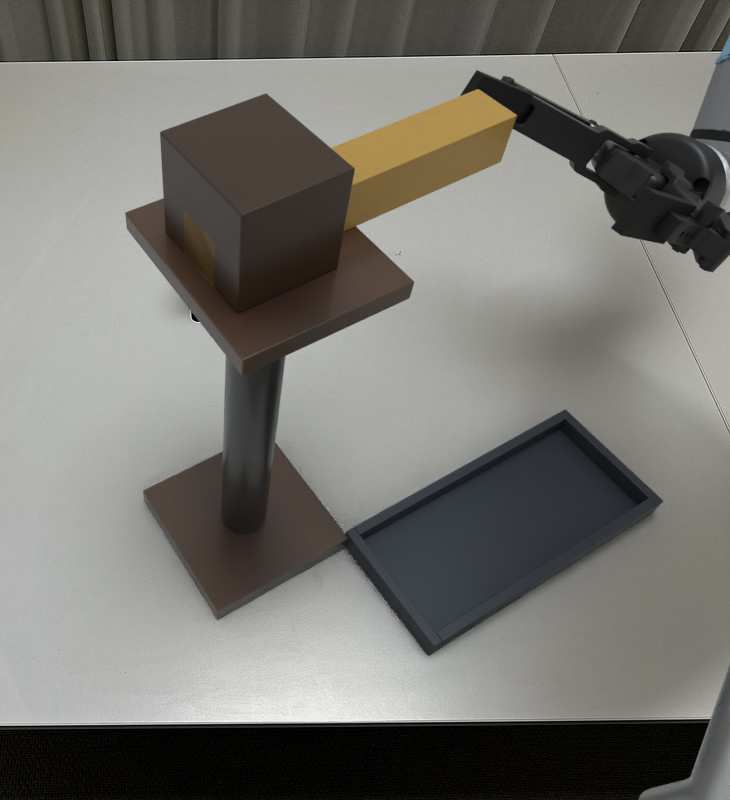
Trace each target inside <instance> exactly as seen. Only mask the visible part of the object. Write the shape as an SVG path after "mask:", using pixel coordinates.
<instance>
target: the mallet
mask: <svg viewBox="0 0 730 800" xmlns="http://www.w3.org/2000/svg"><path fill="white" fill-rule="evenodd" d="M516 117H517V115H516V114H515V113H513V112H512V111H510V110H509V109H507V108H506V107H504V106H503V105H501V104H500V103H498V102H497V101H495V100H494V99H492V98H491V97H489V96H488V95H486V94H485V93H484V92H482V91H481V90H479V89H477V90H474V91H472V92H469V93H467V94H464V95H462V96H460V95H459V96H456V97H454V98H452V99H450V100H446V101H444V102H442V103H440V104H437V105H434V106H432V107H429V108H427V109H424V110H422V111H419V112H417V113H414V114H412V115H410V116H408V117H405V118H401V119H399V120H397V121H395V122H392V123H390V124H386V125H385V126H382V127H379V128H377V129H374V130H372V131H370V132H367V133H364V134H362V135H359V136H357V137H354V138H352V139H349V140H347V141H344V142H342V143H340V144H337V145H334V146H332V147H331V146H329V145H328V144H327V143H326V142H325V141H323V140H322V139H321V138H320V137H319V136H317V135H316V133H314V132H313V131H312V130H311V129H309V128H308V127H307V126H306V125H304V124H303V123H302V122H301V121H300V120H299V119H298V118H296V116H294V115H292V113H291V112H289V110H287V109H286V108H285V107H284V106H282V105H281V104H280V103H279V102H277V101H276V100H275V99H274V98H273V97H271V95H269V94H268V93H263V94H260V95H257V96H254V97H252V98H249V99H246V100H243V101H241V102H238V103H235V104H232V105H229V106H227V107H224V108H221V109H219V110H216V111H213V112H210V113H208V114H205V115H202V116H199V117H197V118H194V119H191V120H187V121H186V122H183V123H180V124H177V125H175V126H172V127H169V128H166V129H163V130H161V131H160V132H159V137H160V138H159V141H160V157H161V158H160V159H161V175H162V176H161V177H162V178H161V179H162V194H163V195H162V196H163V197H162V198H164V215H165V231H166V232H167V233H168V234H169V236H170V237H171V238H172V239H173V240H174V241H175V242H176V244H177V245H178V246H179V247H180V248H181V249H182V250H183V252H184V253H185V254H186V255H187V257H188V258H189V259H190V260H191V261H192V262H193V263H194V265H195V266H196V267H197V268H198V269H199V270H200V271H201V273H202V274H203V275H204V276H205V277H206V278H207V280H208V281H209V282H210V283H211V284H212V285H213V286H214V288H216V289H217V291H218V292H219V293H220V294H221V295H222V296H223V297H224V299H225V300H226V301H227V302H228V303H229V304H230V305H231V307H232V308H233V309H234V310H235V311H236V312H237V313H240V312H242V311H244V310H246V309H249V308H251V307H253V306H255V305H257V304H259V303H262V302H264V301H266V300H268V299H270V298H273V297H275V296H277V295H279V294H281V293H283V292H286V291H288V290H290V289H292V288H294V287H296V286H299V285H301V284H303V283H305V282H307V281H310V280H312V279H314V278H316V277H318V276H320V275H323V274H325V273H327V272H329V271H331V270H334V269H336V268H337V267H338V261H339V256H340V250H341V244H342V239H343V233H344V231H346V230H348V229H351V228H353V227H355V226H356V227H358V226H359V225H362V224H364V223H367V222H368V221H372V220H374V219H375V218H378V217H380V216H382V215H385V214H387V213H389V212H392V211H394V210H396V209H398V208H400V207H403V206H405V205H408V204H409V203H411V202H414V201H416V200H419V199H421V198H423V197H425V196H428V195H430V194H432V193H435V192H436V191H439V190H441V189H443V188H445V187H448V186H450V185H452V184H454V183H456V182H460V181H461V180H463V179H466V178H468V177H470V176H472V175H475V174H477V173H479V172H482V171H484V170H487V169H488V168H490V167H493V166H495V165H497V164H500V163H501V162H502V160H503V156H504V154H505V151H506V148H507V146H508V143H509V140H510V137H511V134H512V131H513V130H514V129H513V126H514V123H515V120H516Z"/></svg>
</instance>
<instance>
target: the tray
mask: <svg viewBox="0 0 730 800" xmlns="http://www.w3.org/2000/svg"><path fill="white" fill-rule="evenodd" d="M663 503H664V500H663V499H662V498H661V497H660V496H659V495H658V494H657V493H656V492H655V491H653V489H652V488H650V487H649V486H648V485H647V484H646V483H645V482H644V481H643V480H642V479H641V478H639V476H638V475H637V474H636V473H634V472H633V470H631V468H629V467H628V466H627V465H626V464H625V463H624V462H623V461H622V460H621V459H619V458H618V457H617V455H616V454H614V453H613V452H612V450H610V449H609V448H608V447H606V445H604V443H602V442H601V441H600V440H599V439H598V438H597V437H596V436H595V435H594V434H593V433H592V432H591V431H589V430H588V428H586V426H584V425H583V424H582V423H581V422H580V421H579V420H578V419H577V418H576V417H575V416H573V415H572V414H571V413H570V412H569V411H568V410H567V409H563V410H561V411H560V412H558V413H555V414H554V415H552V416H550V417H549V418H546V419H545V420H543V421H542V422H539V423H537V424H536V425H534V426H532V427H530V428H529V429H527V430H525V431H523V432H522V433H520V434H518V435H516V436H514V437H513V438H511V439H509V440H507V441H506V442H503V443H502V444H500V445H499V446H496V447H495V448H493V449H491V450H489V451H488V452H485V453H484V454H482V455H480V456H478V457H476V458H474V459H473V460H471V461H470V462H468V463H466V464H464V465H463V466H461V467H459V468H457V469H455V470H453V471H451V472H450V473H448V474H446V475H444V476H442V477H440V478H439V479H437V480H436V481H435V480H434V481H433V482H431V483H430V484H428V485H426V486H425V487H423V488H421V489H419V490H417V491H416V492H414V493H412V494H410V495H408V496H407V497H404V498H403V499H401V500H399V501H398V502H396V503H394V504H392V505H390V506H389V507H387V508H385V509H384V510H382V511H379V512H377V513H376V514H374V515H372V516H371V517H369V518H367V519H365V520H364V521H362V522H360V523H358V524H356V525H355V526H353V527H351V528H349V529H348V530H346V531H345V532H344V533H345V535H346V536H347V537H348V542H347V545H346V548H345V549H346V550H347V551H348V552H349V554H350V555H351V556H352V557H353V559H354V560H355V561H356V563H357V564H358V565H359V567H360V568H361V570H362V571H363V572H364V573H365V575H366V576H367V577H368V579H369V580H370V581H371V583H372V584H373V585H374V586H375V588H376V589H377V590H378V592H379V593H380V595H381V596H382V597H383V598H384V600H385V602H386V603H387V604H388V605H389V606H390V608H391V609H392V610H393V612H394V613H395V614H396V616H397V617H398V619H399V620H400V621H401V622H402V624H403V625H404V626H405V628H406V629H407V630H408V632H409V633H410V634H411V636H412V637H413V638H414V639H415V641H416V642H417V644H419V646H420V648H421V649H422V650H423V651H424V653H425V654H426V655H427V656H428V657H429V656H431V655H432V654H434V653H435V652H437V651H439V650H441V649H442V648H443V647H445V646H447V645H448V644H450V643H451V642H453V641H454V640H456V639H458V638H459V637H461V636H463V635H464V634H465V633H467V632H469V631H470V630H472V629H473V628H475V627H476V626H479V624H481V623H483V622H484V621H486V620H488V619H489V618H490V617H492V616H494V615H495V614H497V613H498V612H500V611H502V610H503V609H505V608H506V607H508V606H510V605H511V604H512V603H514V602H516V601H517V600H519V599H520V598H522V597H523V596H525V595H527V594H528V593H530V592H531V591H533V590H534V589H536V588H538V587H539V586H540V585H542V584H544V583H546V582H547V581H549V580H550V579H552V578H553V577H555V576H556V575H558V574H559V573H561V572H563V571H564V570H566V569H568V568H569V567H571V566H572V565H574V564H575V563H577V562H578V561H581V560H582V559H583V558H584V557H586V556H588V555H589V554H591V553H592V552H594V551H596V550H597V549H599V548H600V547H602V546H604V545H605V544H606V543H608V542H610V541H611V540H613V539H614V538H616V537H618V536H619V535H621V534H623V533H624V532H625V531H627V530H628V529H630V528H631V527H633V526H635V525H636V524H637V523H639V522H641V521H643V520H644V519H646V518H647V517H649V516H651V515H652V514H653V513H654V512H655V511H656V510H657V509H658V508H659V507H660V506H661V504H663Z"/></svg>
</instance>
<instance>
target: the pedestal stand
mask: <svg viewBox="0 0 730 800" xmlns="http://www.w3.org/2000/svg"><path fill="white" fill-rule="evenodd" d="M124 215H125V216H124V217H125V225H126V230H127V232H128V233H129V234H130V235H131V237H132V238H133V239H134V241H135V242H136V243H137V245H139V247H140V248H141V249H142V251H143V252H144V253H145V255H146V256H147V257H148V258H149V259H150V261H151V262H152V263H153V264H154V266H155V267H156V268H157V270H158V271H159V272H160V273H161V275H162V276H163V277H164V278H165V280H166V281H167V282H168V284H169V285H170V286H171V288H172V289H173V290H174V291H175V292H176V294H177V295H178V296H179V298H180V299H181V300H182V302H183V303H184V304H185V305H186V306H187V308H188V309H189V310H190V312H191V313H192V314H193V315H194V317H195V318H196V319H197V321H198V322H199V323H200V324H201V326H202V327H203V328H204V329H205V331H206V332H207V334H208V335H209V336H210V337H211V338H212V340H213V341H214V342H215V344H216V345H217V346H218V347H219V348H220V350H221V351H222V353H223V354H224V355H225V364H224V365H225V366H224V368H225V369H224V403H223V408H224V409H223V433H222V434H223V436H222V451H220V452H218V453H216V454H214V455H213V456H210V457H208V458H206V459H204V460H201V461H200V462H198V463H196V464H194V465H192V466H190V467H188V468H186V469H184V470H182V471H179V472H178V473H176V474H174V475H172V476H170V477H167V478H165V479H163V480H162V481H160V482H157V483H155V484H153V485H151V486H149V487H147V488H145V489H143V490H142V494H143V500H144V502H145V504H146V505H147V507H148V508H149V511H150V512H151V514H152V516H153V518H155V520H156V521H157V524H158V525H159V527H160V529H161V530H162V532H163V533H164V535H165V537H166V538H167V540H168V542H169V543H170V545H171V547H172V548H173V549H174V552H175V553H176V555H177V556H178V558H179V560H180V561H181V563H182V564H183V566H184V568H185V569H186V571H187V573H188V574H189V576H190V578H191V579H192V581H193V582H194V584H195V586H196V588H197V589H198V590H199V592H200V594H201V596H202V597H203V599H204V600H205V602H206V604H207V605H208V607H209V608H210V610H211V612H212V613H213V615H214V617H215V618H216V620H220V619H222V618H224V617H225V616H227V615H229V614H230V613H232V612H234V611H236V610H237V609H239V608H241V607H243V606H244V605H247V604H248V603H251V602H252V601H254V600H255V599H257V598H259V597H261V596H263V595H264V594H266V593H269V591H271V590H274V589H275V588H277V587H278V586H280V585H282V584H284V583H286V582H287V581H289V580H291V579H292V578H294V577H296V576H298V575H300V574H302V573H303V572H305V571H307V570H308V569H310V568H312V567H314V566H316V565H317V564H319V563H321V562H322V561H324V560H327V559H328V558H330V557H331V556H333V555H335V554H337V553H339V552H340V551H343V550H344V549H347V548H346V545H347V542H348V537H347V536H346V535H345V533H346V532H345V531H344V530H343V528H342V527H341V526H340V524H339V523H338V522H337V521H336V519H335V518H334V517H333V515H332V514H331V513H330V512H329V510H328V509H327V508H326V506H325V505H324V503H322V501H321V499H320V498H319V497H318V496H317V494H316V493H315V492H314V491H313V489H312V488H311V487H310V486H309V484H308V482H306V480H305V479H304V478H303V476H302V475H301V474H300V472H299V471H298V470H297V469H296V467H295V466H294V465H293V463H292V462H291V461H290V459H289V458H288V457H287V456H286V454H285V453H284V452H283V451H282V449H281V447H279V445H278V443H277V442H276V439H277V431H278V421H279V414H280V406H281V405H280V404H281V399H282V398H281V397H282V391H283V390H282V389H283V383H284V382H283V381H284V373H285V365H286V356H289V355H291V354H293V353H295V352H297V351H299V350H302V349H304V348H306V347H308V346H311V345H313V344H314V343H317V342H320V341H321V340H323V339H325V338H327V337H329V336H332V335H334V334H336V333H338V332H340V331H342V330H345V329H347V328H349V327H351V326H353V325H355V324H357V323H360V322H362V321H364V320H366V319H368V318H371V317H373V316H375V315H376V314H379V313H381V312H383V311H385V310H387V309H390V308H392V307H394V306H397V305H398V304H401V303H402V302H405V301H407V300H409V299H410V298H411V295H412V291H413V289H414V285H415V281H414V279H412V278H411V276H409V275H408V274H407V273H406V272H405V271H404V270H403V269H402V268H400V267H399V265H397V263H395V262H394V261H393V260H392V259H391V258H390V257H389V256H388V255H387V254H386V253H385V252H384V251H383V250H382V249H380V247H378V245H376V244H375V243H374V242H373V241H372V240H371V239H370V238H369V237H368V236H367V235H366V234H365V233H364V232H363V231H361V229H359V228H358V226H355V227H353V228H351V229H348V230H346V231H344V233H343V239H342V244H341V250H340V256H339V261H338V267H337V268H336V269H334V270H331V271H329V272H327V273H325V274H323V275H320V276H318V277H316V278H314V279H312V280H310V281H307V282H305V283H303V284H301V285H299V286H296V287H294V288H292V289H290V290H288V291H286V292H283V293H281V294H279V295H277V296H275V297H273V298H270V299H268V300H266V301H264V302H262V303H259V304H257V305H255V306H253V307H251V308H249V309H246V310H244V311H242V312H240V313H237V312H236V311H235V310H234V309H233V308H232V307H231V305H230V304H229V303H228V302H227V301H226V300H225V299H224V297H223V296H222V295H221V294H220V293H219V292H218V291H217V289H216V288H214V286H213V285H212V284H211V283H210V282H209V281H208V280H207V278H206V277H205V276H204V275H203V274H202V273H201V271H200V270H199V269H198V268H197V267H196V266H195V265H194V263H193V262H192V261H191V260H190V259H189V258H188V257H187V255H186V254H185V253H184V252H183V250H182V249H181V248H180V247H179V246H178V245H177V244H176V242H175V241H174V240H173V239H172V238H171V237H170V236H169V234H168V233H167V232H166V231H165V215H164V197H162V198H160V199H158V200H154V201H152V202H150V203H146V204H144V205H141V206H139V207H136V208H134V209H131V210H128V211H125V212H124Z"/></svg>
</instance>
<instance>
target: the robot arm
mask: <svg viewBox="0 0 730 800" xmlns="http://www.w3.org/2000/svg"><path fill="white" fill-rule="evenodd" d="M714 65H715V66H714V70H713V72H712V75H711V78H710V79H709V83H708V86H707V88H706V91H705V94H704V97H703V99H702V102H701V105H700V108H699V110H698V112H697V116H696V119H695V121H694V124H693V127H692V130H691V131H690V134H689V135H687V134H683V133H679V132H659V133H654V134H650V135H647V136H645V137H642V138H640V139H636V138H634V137H629V138H627V137H626V136H623V135H621V134H619V133H618V132H616V131H614V130H613V129H611V128H609V127H607V126H605V125H603V124H598V122H597V121H596V120H594V119H592V118H591V119H588V118H587V117H584V116H582V115H580V114H577V113H575V112H574V111H571V110H570V109H568V108H567V107H564V106H562V105H560V104H558V103H556V102H555V101H553V100H550V99H549V98H547V97H545V96H543V95H542V94H539V93H538V92H535V91H533V90H532V89H530V88H528V87H526V86H524V85H522V84H521V83H519V82H517V81H516V80H515V79H514V78H513V77H512V76H507V75H503V76H502V77H501V78H500V79H499V78H498V77H495V76H493V75H489V74H488V73H485V72H483V71H480V70H478V69H476V70H475V72H474V73H473V75H472V77H471V78H470V79H469V81H468V82H467V84H466V85H465V87H464V88H463V90H462V91H461V93H460V95H459V96H462V95H464V94H467V93H469V92H472V91H474V90H477V89H479V90H481V91H482V92H484V93H485V94H486V95H488V96H489V97H491V98H492V99H494V100H495V101H497V102H498V103H500V104H501V105H503V106H504V107H506V108H507V109H509V110H510V111H512V112H513V113H515V114H516V115H517V117H516V120H515V123H514V126H513V129H512V130H513V131H515V132H517V133H519V134H521V135H523V136H525V137H526V138H528V139H530V140H532V141H533V142H535V143H538V144H539V145H541V146H543V147H544V148H547V149H548V150H550V151H552V152H554V153H556V154H557V155H559V156H561V157H562V158H565V159H566V160H568V162H569V163H568V164H569V166H570V168H571V169H572V170H573V171H574V172H575V173H576V174H578V175H580V176H582V177H584V178H585V179H587V180H589V181H590V182H593V183H595V185H596V186H597V188H598V189H599V190H601V192H603V198H604V205H605V207H606V210H607V212H608V214H609V216H610V218H611V219H612V220H613V221H614V223H613V224H612V226H611V227H610V229H611V230H613V231H614V233H615V232H616V233H617V234H618V235H620V236H621V237H627V238H632V239H635V240H641V241H646V242H651V243H655V244H660V245H665V244H666V243H667V244H668V245H669V246H670V248H671V250H673V251H674V252H675V253H678V254H679V253H680V254H682V255H686V254H687V253H688V252H689V251H690V250H692V254H693V257H694V261H695V263H696V264H698V267H699V268H700V269H701V270H703V271H704V272H708V273H714V272H715V271H716V270H717V269H718V268H719V267H720V266H721V265H722V264H723V263H724V262H725V261H726V260H727V259H728V258H729V257H730V33H729V34H728V37H727V38H726V41H725V43H724V45H723V48H722V50H721V52H720V54H719V56H718V57H717V58H716V59H715V63H714ZM589 163H591V166H592V168H593V169H594V170H593V169H591V168H589V167H587V165H589ZM709 719H710V720H709V721H708V722H709V723H708V725H707V728H706V730H705V734H704V737H703V739H702V743H701V746H700V748H699V751H698V754H697V757H696V759H695V763H694V765H693V768H692V770H691V774H690V776H688V777H687V778H686V779H683V780H678V781H674V782H670V783H667V784H662V785H658V786H653V787H650V788H647V789H646V790H644V791H643V792H641V794H640V795H639V797H638V800H730V663H729V664H728V667H727V671H726V673H725V676H724V679H723V682H722V685H721V687H720V691H719V693H718V695H717V699H716V702H715V705H714V708H713V711H712V713H711V717H710V718H709Z"/></svg>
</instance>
